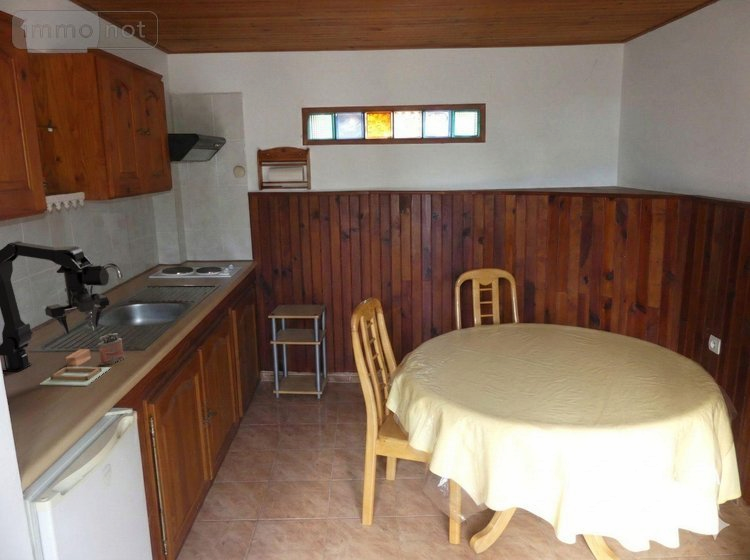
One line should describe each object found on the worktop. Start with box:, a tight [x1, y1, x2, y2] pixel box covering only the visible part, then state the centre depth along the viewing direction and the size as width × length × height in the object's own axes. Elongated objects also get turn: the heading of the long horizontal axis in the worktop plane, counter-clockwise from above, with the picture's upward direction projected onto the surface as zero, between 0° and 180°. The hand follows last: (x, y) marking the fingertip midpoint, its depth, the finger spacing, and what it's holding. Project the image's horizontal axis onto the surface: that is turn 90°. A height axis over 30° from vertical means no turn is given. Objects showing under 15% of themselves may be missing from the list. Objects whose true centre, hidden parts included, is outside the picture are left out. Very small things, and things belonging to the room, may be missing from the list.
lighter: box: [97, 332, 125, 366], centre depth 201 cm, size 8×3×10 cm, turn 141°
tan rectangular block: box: [65, 348, 92, 367], centre depth 202 cm, size 4×8×4 cm, turn 173°
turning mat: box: [39, 366, 112, 387], centre depth 190 cm, size 16×14×2 cm
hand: (81, 330), depth 195 cm, fingers open, 9 cm apart
